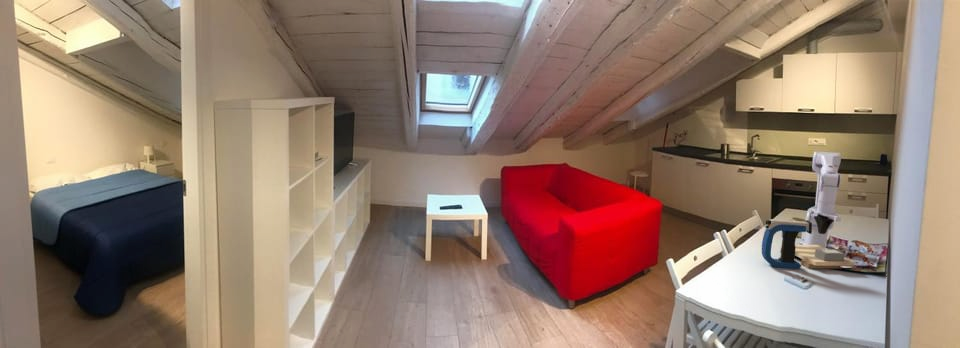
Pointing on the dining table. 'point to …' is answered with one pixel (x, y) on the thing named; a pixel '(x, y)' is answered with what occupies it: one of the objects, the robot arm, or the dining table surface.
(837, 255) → the block
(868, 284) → the dining table surface
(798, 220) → the mug
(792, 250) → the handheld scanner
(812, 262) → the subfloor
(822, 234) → the robot arm
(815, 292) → the dining table surface
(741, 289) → the dining table surface
